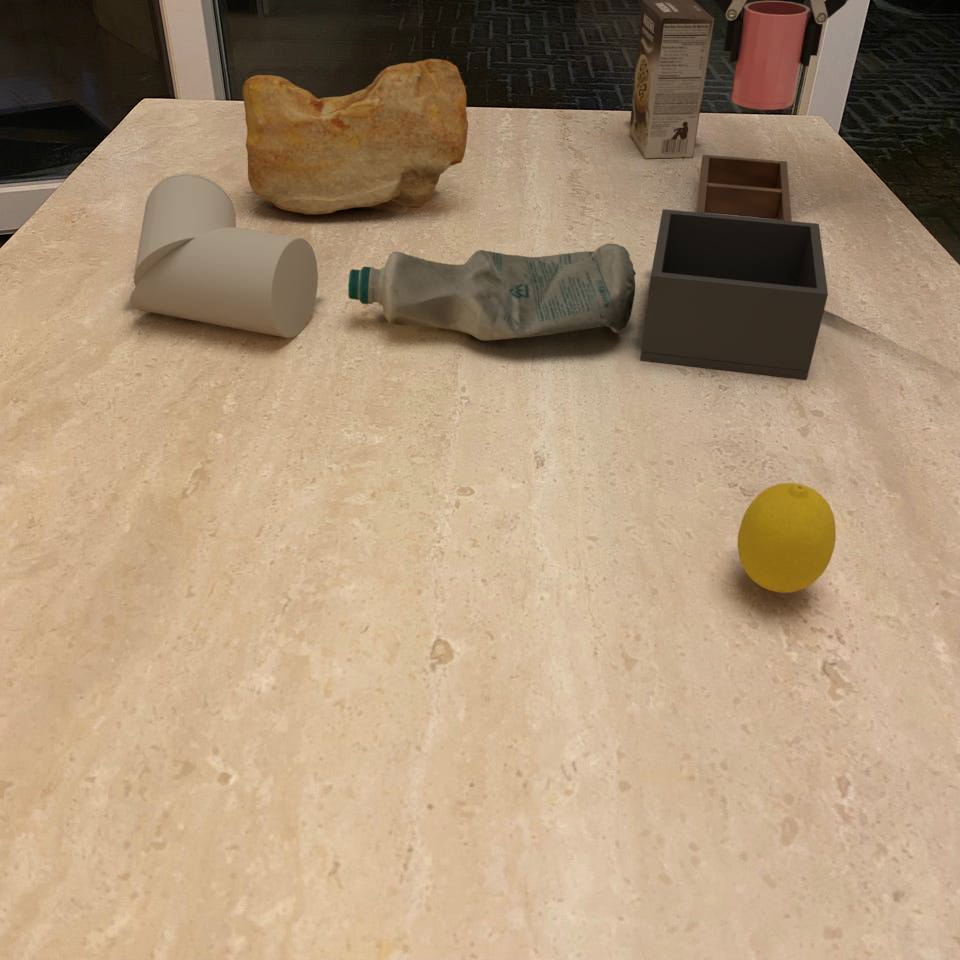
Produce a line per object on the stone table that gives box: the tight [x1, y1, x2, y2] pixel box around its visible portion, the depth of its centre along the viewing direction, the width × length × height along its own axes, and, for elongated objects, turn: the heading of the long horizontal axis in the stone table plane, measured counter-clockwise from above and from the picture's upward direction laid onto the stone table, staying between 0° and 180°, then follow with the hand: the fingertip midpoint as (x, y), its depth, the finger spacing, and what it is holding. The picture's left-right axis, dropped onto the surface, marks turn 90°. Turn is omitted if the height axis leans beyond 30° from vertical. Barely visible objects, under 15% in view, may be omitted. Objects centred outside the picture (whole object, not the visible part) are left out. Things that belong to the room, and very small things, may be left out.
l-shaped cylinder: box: [129, 172, 319, 339], centre depth 89 cm, size 18×10×20 cm
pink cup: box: [730, 0, 811, 111], centre depth 102 cm, size 6×6×9 cm
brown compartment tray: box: [694, 154, 793, 221], centre depth 108 cm, size 9×18×3 cm, turn 168°
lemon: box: [737, 482, 837, 593], centre depth 60 cm, size 6×6×8 cm
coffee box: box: [628, 0, 715, 159], centre depth 120 cm, size 9×6×16 cm
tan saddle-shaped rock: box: [242, 58, 469, 215], centre depth 108 cm, size 23×17×15 cm
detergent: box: [347, 243, 637, 342], centre depth 87 cm, size 13×7×25 cm
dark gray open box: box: [640, 208, 829, 380], centre depth 86 cm, size 14×14×8 cm
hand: (768, 59), depth 103 cm, fingers closed on pink cup, 6 cm apart
